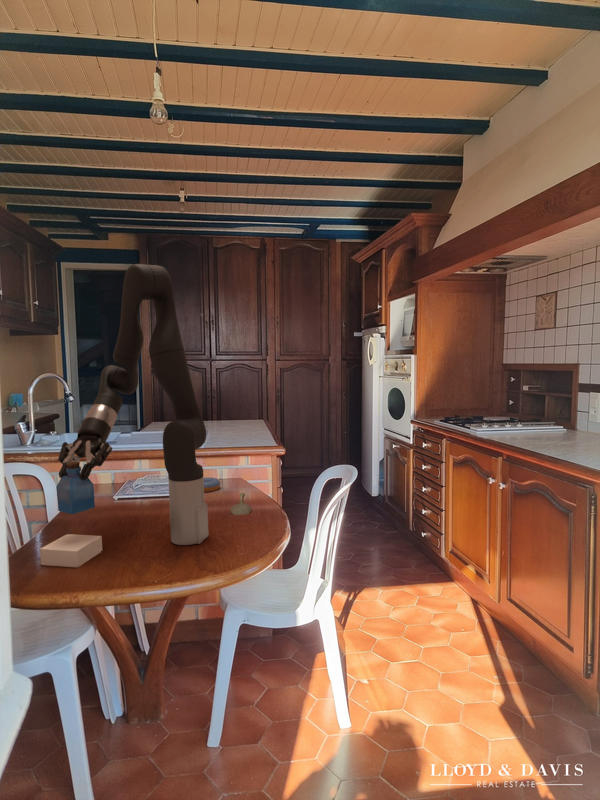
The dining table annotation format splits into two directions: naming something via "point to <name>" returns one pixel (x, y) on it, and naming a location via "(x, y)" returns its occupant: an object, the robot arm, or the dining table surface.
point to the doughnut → (211, 484)
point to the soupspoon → (241, 507)
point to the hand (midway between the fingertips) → (72, 478)
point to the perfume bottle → (74, 491)
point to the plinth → (71, 550)
